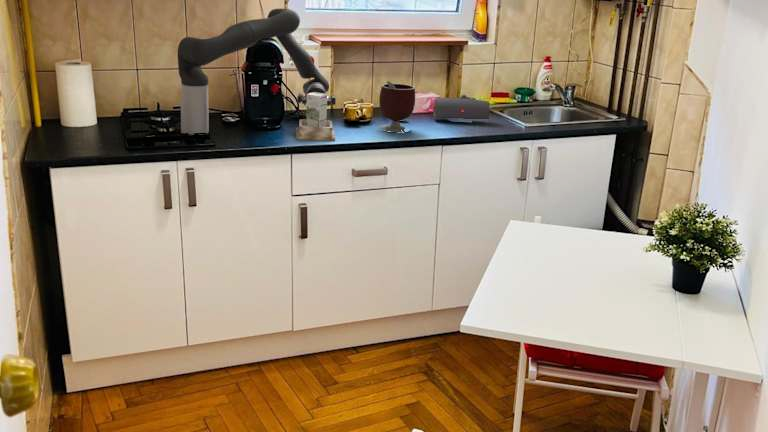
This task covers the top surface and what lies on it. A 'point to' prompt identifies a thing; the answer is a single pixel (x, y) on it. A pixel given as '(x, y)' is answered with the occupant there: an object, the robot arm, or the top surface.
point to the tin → (357, 101)
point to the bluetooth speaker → (461, 108)
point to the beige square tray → (315, 131)
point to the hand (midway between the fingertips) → (316, 102)
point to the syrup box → (316, 109)
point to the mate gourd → (396, 104)
